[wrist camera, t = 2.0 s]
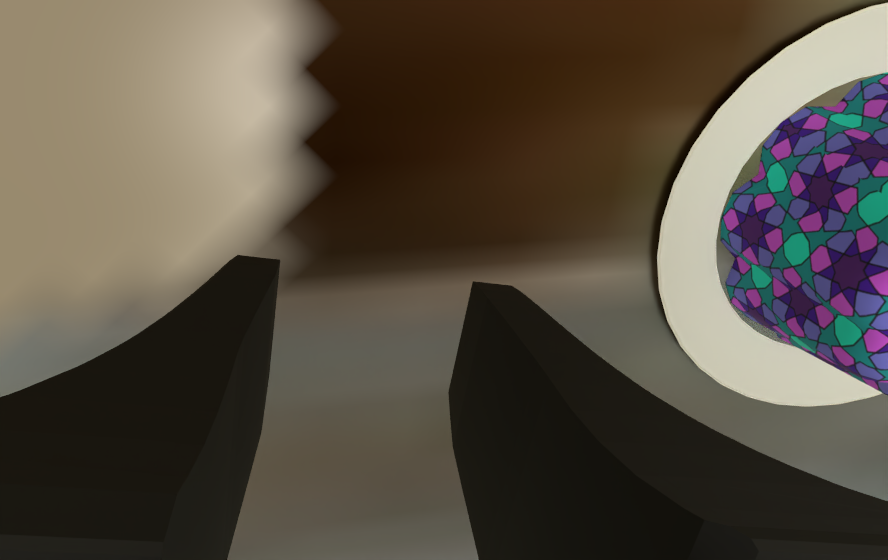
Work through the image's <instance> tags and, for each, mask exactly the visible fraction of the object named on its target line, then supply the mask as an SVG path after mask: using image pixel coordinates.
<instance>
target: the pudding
mask: <svg viewBox="0 0 888 560" xmlns="http://www.w3.org/2000/svg"><path fill="white" fill-rule="evenodd" d="M885 72H888V3H884V4H879V5H875V6H870V7H867V8H865V9H862V10H860V11H857V12H855V13H852V14H850V15H847V16H844V17H842V18H839V19H837V20H834V21H832V22H829V23H827V24H825V25H823V26H822V27H820V28H818V29H816V30H815V31H813V32H811V33H810V34H808V35H806V36H805V37H803V38H801V39H799V40H798V41H796V42H794V43H793V44H791V45H789V46H787V47H786V48H785V49H783V50H782V51H781V52H780V53H778V54H777V55H776V56H775V57H773V58H772V59H771V60H770V61H768V62H767V63H766V64H765V65H763V66H762V67H761V68H760V69H758V70H757V71H756V72H755V73H753V74H752V75H751V76H749V78H748V79H747V80H746V81H745V82H744V83H743V84H742V85H741V86H740V87H739V88H738V89H737V90H736V91H735V92H734V93H733V94H732V96H731V97H730V98H729V99H728V100H727V101H726V102H725V103H724V104H723V105H722V106H721V107H720V108H719V109H718V110H717V112H716V113H715V115H714V116H713V118H712V119H711V120H710V122H709V123H708V125H707V126H706V128H705V129H704V130H703V132H702V133H701V135H700V136H699V138H698V139H697V140H696V142H695V143H694V145H693V146H692V148H691V150H690V152H689V154H688V156H687V158H686V160H685V162H684V164H683V166H682V168H681V170H680V172H679V174H678V176H677V178H676V180H675V182H674V184H673V187H672V190H671V193H670V197H669V200H668V203H667V206H666V209H665V213H664V216H663V219H662V223H661V231H660V238H659V246H658V254H657V266H658V282H659V292H660V296H661V300H662V304H663V307H664V311H665V315H666V318H667V321H668V323H669V325H670V327H671V329H672V331H673V333H674V335H675V336H676V338H677V340H678V342H679V344H680V346H681V347H682V348H683V350H684V351H685V352H686V353H687V354H688V355H689V357H690V358H691V359H692V360H693V361H694V362H695V364H696V365H697V366H698V367H699V368H700V369H701V370H703V371H704V372H705V373H707V374H708V375H709V376H711V377H712V378H713V379H715V380H716V381H717V382H719V383H720V384H721V385H723V386H725V387H727V388H730V389H732V390H734V391H736V392H738V393H740V394H742V395H745V396H747V397H750V398H754V399H758V400H762V401H766V402H770V403H774V404H780V405H793V406H806V407H809V406H822V405H834V404H842V403H847V402H851V401H856V400H860V399H865V398H870V397H873V396H876V395H879V394H882V393H884V394H886V395H888V73H885ZM881 73H883V74H881ZM876 74H880V75H877V76H874V77H871V78H868V79H865V80H862V81H859V82H858V83H857V84H856V85H855V86H854V87H853V89H852V90H851V91H850V92H849V93H848V94H847V95H846V96H845V97H844V98H843V99H842V100H841V101H840V102H839V103H838V105H837V106H836V107H805V108H804V109H802V110H801V111H799V112H797V113H796V114H794V115H793V116H791V117H789V116H790V115H791V114H792V113H794V112H795V111H796V110H798V109H799V108H800V107H802V106H803V105H804V104H805V103H807V102H809V101H811V100H813V99H814V98H816V97H818V96H820V95H821V94H823V93H825V92H827V91H828V90H830V89H832V88H835V87H837V86H840V85H842V84H845V83H848V82H850V81H853V80H855V79H858V78H862V77H867V76H871V75H876ZM787 117H789V118H788V119H786V118H787ZM785 119H786V120H785ZM783 120H785V121H783ZM782 121H783V122H782ZM781 122H782V123H781ZM780 123H781V124H780ZM779 124H780V125H779ZM778 125H779V126H778ZM777 126H778V127H777ZM776 127H777V129H776V130H775V131H774V132H773V134H772V135H771V136H770V137H769V139H768V140H767V141H766V142H765V143H764V145H763V147H762V153H761V160H760V167H759V174H758V175H757V176H756V177H754V178H753V179H751V180H750V181H749V182H747V183H746V184H744V185H743V186H742V187H740V188H739V189H737V190H736V191H735V192H733V194H732V196H731V198H730V200H729V202H728V204H727V206H726V208H725V210H724V213H723V215H722V218H721V242H722V243H723V244H724V245H725V246H726V248H727V249H728V250H729V251H730V252H731V254H732V255H733V256H734V257H735V261H734V263H733V266H732V268H731V271H730V273H729V275H728V278H727V280H726V287H727V290H728V294H729V297H730V300H731V303H732V304H733V305H734V306H735V307H736V308H737V309H738V310H740V311H741V312H742V313H743V314H744V315H745V316H746V317H748V318H750V319H752V320H754V321H755V322H757V323H759V324H761V325H763V326H765V327H767V328H769V329H770V330H772V331H774V332H776V333H777V336H778V337H779V338H781V339H782V340H784V341H786V342H788V343H790V344H792V345H794V346H796V347H794V346H790V345H786V344H783V343H779V342H776V341H773V340H771V339H769V338H767V337H765V336H764V335H762V334H760V333H758V332H756V331H755V330H754V329H752V328H751V327H750V326H749V325H748V324H746V323H745V322H744V321H743V320H742V319H741V318H740V317H739V316H738V314H737V313H736V312H735V310H734V309H733V308H732V307H731V305H730V304H729V302H728V300H727V297H726V295H725V293H724V291H723V289H722V287H721V284H720V279H719V274H718V270H717V265H716V238H717V233H718V227H719V221H720V216H721V213H722V211H723V208H724V205H725V202H726V199H727V196H728V194H729V191H730V189H731V187H732V186H733V184H734V182H735V180H736V178H737V176H738V174H739V173H740V171H741V169H742V167H743V166H744V164H745V163H746V162H747V160H748V159H749V158H750V156H751V155H752V154H753V152H754V151H755V150H756V148H757V147H758V146H759V144H760V143H761V142H762V141H763V140H764V139H765V138H766V137H767V136H768V135H769V134H770V133H771V132H772V131H773V130H774V129H775V128H776Z"/></svg>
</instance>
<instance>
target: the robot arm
mask: <svg viewBox="0 0 888 560" xmlns="http://www.w3.org/2000/svg"><path fill="white" fill-rule="evenodd" d="M279 267H280V260H277V259H268V258H259V257H250V256H241V255H237V256H236V257H234V258H233V259H232V260H230V261H229V262H228V263H227V264H225V265H224V266H223V267H222V268H221V269H220V270H219V271H218V272H217V273H216V274H215V275H214V276H212V277H211V278H210V279H209V280H208V281H207V282H206V283H205V284H203V285H202V286H201V287H200V288H199V289H198V290H196V291H195V292H194V293H193V294H191V295H190V296H189V297H188V298H186V299H185V300H184V301H183V302H182V303H180V304H179V305H178V306H177V307H175V308H174V309H173V310H171V311H170V312H169V313H167V314H166V315H165V316H163V317H162V318H160V319H159V320H158V321H156V322H155V323H153V324H152V325H150V326H149V327H147V328H146V329H145V330H143V331H142V332H140V333H139V334H137V335H136V336H134V337H132V338H131V339H129V340H127V341H125V342H124V343H122V344H120V345H119V346H117V347H115V348H113V349H111V350H109V351H107V352H105V353H104V354H102V355H100V356H98V357H96V358H94V359H92V360H90V361H88V362H86V363H84V364H82V365H80V366H78V367H75V368H73V369H71V370H68V371H66V372H63V373H61V374H59V375H56V376H54V377H51V378H49V379H46V380H44V381H42V382H39V383H37V384H34V385H32V386H30V387H27V388H25V389H22V390H20V391H17V392H14V393H12V394H9V395H6V396H3V397H0V560H227V557H228V554H229V550H230V546H231V543H232V539H233V535H234V532H235V528H236V524H237V520H238V517H239V513H240V509H241V506H242V502H243V498H244V495H245V491H246V487H247V484H248V480H249V476H250V472H251V469H252V465H253V461H254V457H255V454H256V450H257V446H258V442H259V439H260V435H261V430H262V423H263V416H264V409H265V401H266V394H267V387H268V380H269V371H270V360H271V350H272V340H273V329H274V319H275V308H276V298H277V288H278V277H279ZM449 406H450V420H451V431H452V442H453V449H454V454H455V458H456V463H457V467H458V472H459V476H460V480H461V485H462V489H463V494H464V498H465V502H466V506H467V511H468V515H469V519H470V523H471V528H472V532H473V536H474V540H475V545H476V549H477V553H478V557H479V560H888V501H885V500H882V499H879V498H875V497H872V496H869V495H866V494H863V493H860V492H857V491H854V490H851V489H848V488H845V487H843V486H840V485H837V484H834V483H832V482H829V481H827V480H824V479H822V478H819V477H817V476H814V475H812V474H809V473H807V472H804V471H802V470H799V469H797V468H794V467H792V466H789V465H787V464H785V463H782V462H780V461H778V460H776V459H773V458H771V457H769V456H766V455H764V454H762V453H760V452H758V451H755V450H753V449H751V448H749V447H747V446H745V445H743V444H741V443H739V442H737V441H735V440H733V439H731V438H729V437H727V436H725V435H723V434H721V433H719V432H717V431H715V430H713V429H711V428H709V427H707V426H706V425H704V424H702V423H700V422H698V421H696V420H695V419H693V418H691V417H689V416H688V415H686V414H684V413H683V412H681V411H679V410H678V409H676V408H674V407H673V406H671V405H669V404H668V403H666V402H664V401H663V400H661V399H659V398H658V397H656V396H654V395H653V394H651V393H650V392H648V391H647V390H645V389H644V388H642V387H641V386H639V385H638V384H636V383H635V382H633V381H632V380H631V379H629V378H628V377H627V376H625V375H624V374H622V373H621V372H620V371H618V370H617V369H616V368H614V367H613V366H611V365H610V364H609V363H607V362H606V361H605V360H603V359H602V358H601V357H600V356H598V355H597V354H596V353H594V352H593V351H592V350H591V349H589V348H588V347H587V346H586V345H584V344H583V343H582V342H581V341H579V340H578V339H577V338H576V337H575V336H573V335H572V334H571V333H570V332H569V331H567V330H566V329H565V328H564V327H563V326H561V325H560V324H559V323H558V322H557V321H555V320H554V319H553V318H552V317H551V316H550V315H548V314H547V313H546V312H545V311H544V310H543V309H541V308H540V307H539V306H538V305H537V304H535V303H534V302H533V301H532V300H531V299H529V298H528V297H527V296H526V295H524V294H523V293H522V292H520V291H519V290H517V289H516V288H514V287H513V286H508V285H499V284H491V283H482V282H473V283H472V288H471V293H470V297H469V302H468V306H467V311H466V315H465V320H464V324H463V329H462V333H461V338H460V342H459V347H458V352H457V356H456V361H455V365H454V370H453V374H452V379H451V383H450V388H449Z"/></svg>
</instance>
